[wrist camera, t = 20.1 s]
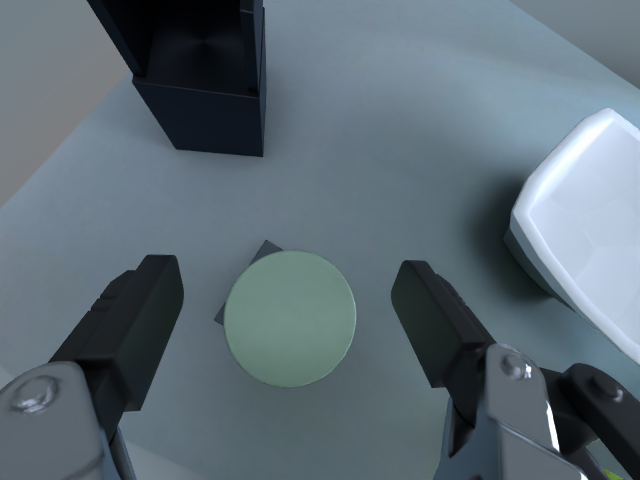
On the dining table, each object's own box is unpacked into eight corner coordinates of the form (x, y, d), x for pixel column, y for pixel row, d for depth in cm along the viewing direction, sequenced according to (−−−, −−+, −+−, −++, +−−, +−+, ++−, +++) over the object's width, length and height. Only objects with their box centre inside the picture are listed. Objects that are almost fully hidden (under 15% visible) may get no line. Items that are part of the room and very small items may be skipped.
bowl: (436, 234, 31) (494, 212, 23) (535, 135, 37) (609, 91, 29) (563, 378, 30) (671, 409, 22) (643, 253, 36) (750, 241, 28)
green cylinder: (241, 313, 25) (193, 344, 9) (271, 266, 26) (271, 226, 11) (288, 340, 25) (317, 415, 10) (315, 292, 26) (377, 290, 11)
